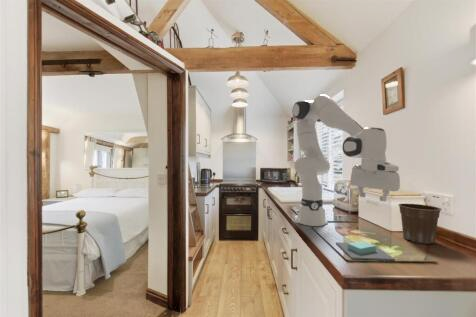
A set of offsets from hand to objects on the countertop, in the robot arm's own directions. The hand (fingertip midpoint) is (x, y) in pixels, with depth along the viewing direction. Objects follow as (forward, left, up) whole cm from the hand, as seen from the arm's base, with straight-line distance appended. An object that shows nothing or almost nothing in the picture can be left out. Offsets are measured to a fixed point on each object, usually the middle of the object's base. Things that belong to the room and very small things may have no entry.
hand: (372, 199), depth 98 cm
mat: (+1, -4, -22) cm, 22 cm away
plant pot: (-16, +30, -22) cm, 40 cm away
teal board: (0, 0, -20) cm, 20 cm away
